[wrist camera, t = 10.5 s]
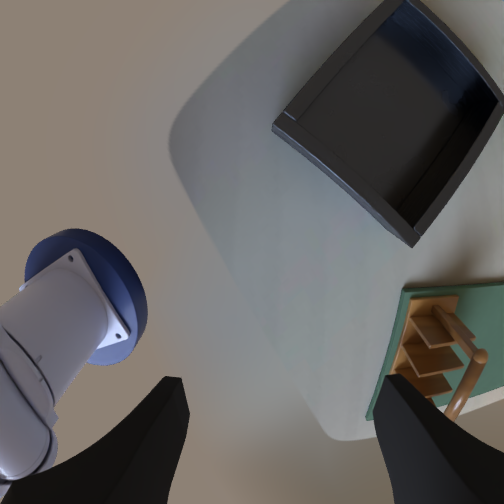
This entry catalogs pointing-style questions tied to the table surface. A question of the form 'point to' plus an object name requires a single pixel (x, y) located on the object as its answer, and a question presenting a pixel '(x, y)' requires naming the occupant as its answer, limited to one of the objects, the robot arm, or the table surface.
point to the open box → (396, 116)
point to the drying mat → (478, 322)
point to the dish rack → (437, 351)
